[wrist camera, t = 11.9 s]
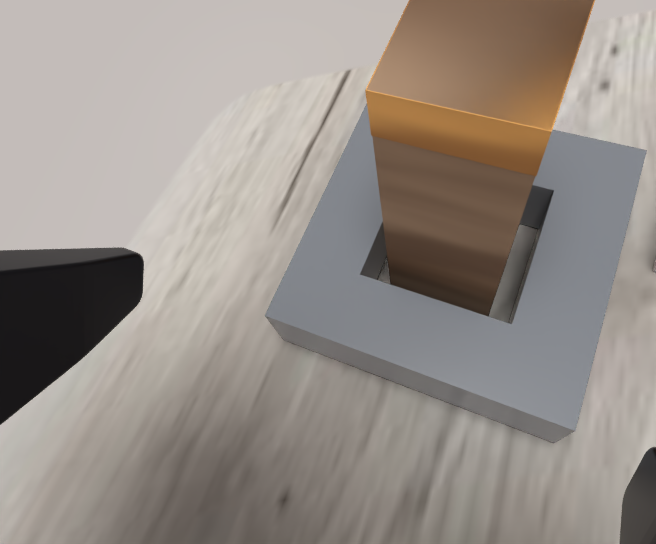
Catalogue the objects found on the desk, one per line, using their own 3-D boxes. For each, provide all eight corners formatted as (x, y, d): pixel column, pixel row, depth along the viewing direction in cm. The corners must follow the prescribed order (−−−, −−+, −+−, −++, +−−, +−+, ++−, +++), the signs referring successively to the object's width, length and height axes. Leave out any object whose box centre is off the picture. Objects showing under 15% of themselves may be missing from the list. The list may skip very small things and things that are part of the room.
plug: (486, 323, 22) (551, 131, 11) (391, 291, 23) (365, 90, 12) (514, 238, 23) (598, -9, 12) (423, 212, 24) (425, -34, 13)
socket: (553, 443, 20) (575, 430, 17) (283, 339, 23) (264, 315, 20) (620, 193, 23) (646, 150, 20) (377, 133, 26) (373, 90, 24)
